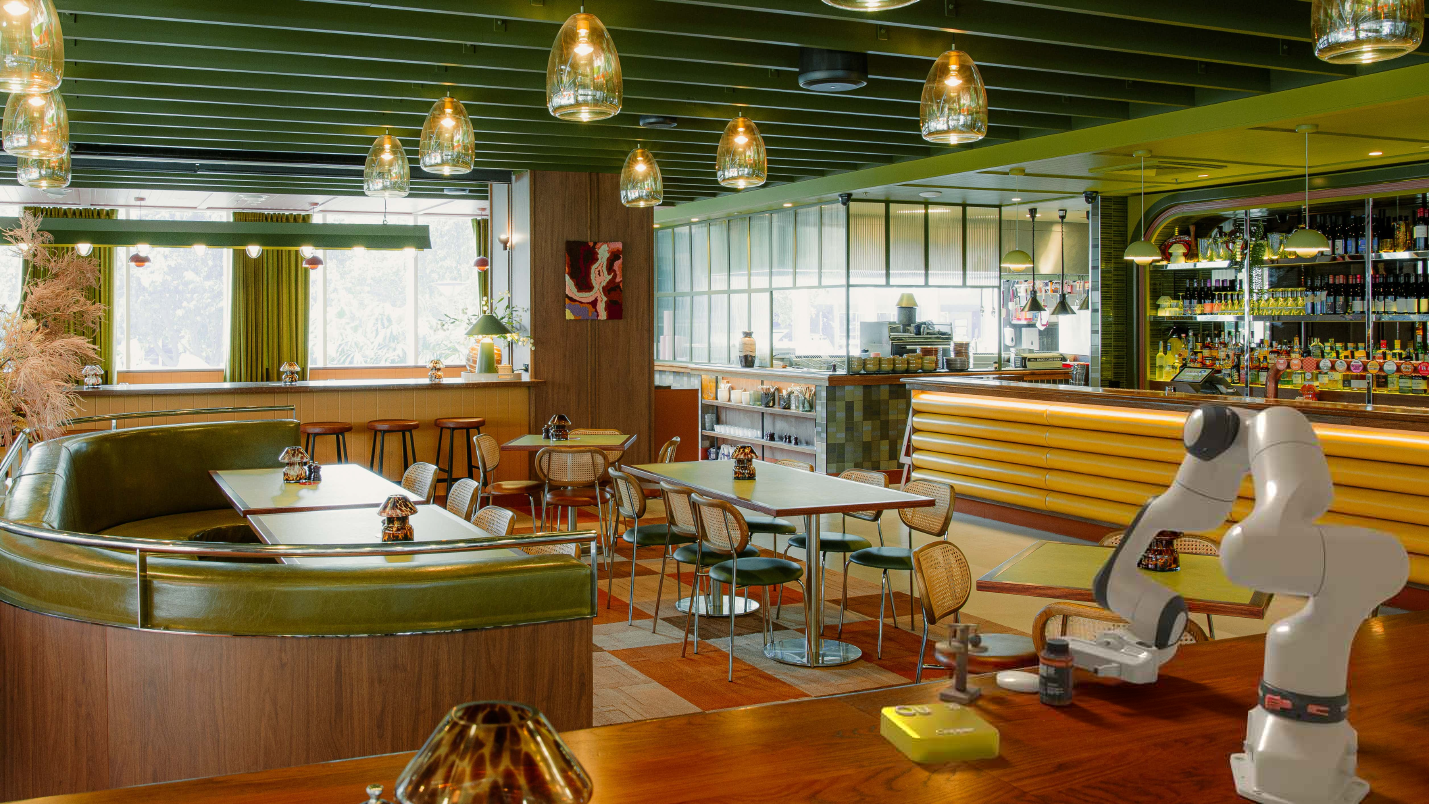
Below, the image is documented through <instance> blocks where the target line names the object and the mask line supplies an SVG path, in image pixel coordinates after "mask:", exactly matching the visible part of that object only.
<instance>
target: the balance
mask: <svg viewBox="0 0 1429 804" xmlns="http://www.w3.org/2000/svg"><path fill="white" fill-rule="evenodd" d="M947 629H949V635H948V641H938V642H935V647H934V648H935V649H936V650H937V651H940V652H941V653H942V652H943V653H947V654H956V662H955V663H956V664H955V681H954V682H953V683H951V684H950V685H948V686H947V687H946V688H944V689H943V690H941V692H939V698H938V699H939V700H941V701H946V702H949V703H958V704H960V705H962V706H967V705H969V703H971V702H972V701H973V700H975V699H976V698H977V697H978V696H980V695H981V693H982V687H981V686H977V685H973V684H972V685H971V684H969V683H967V681H968V680H967V679H968V661H969V658H968V657H969V653H972V654H985V653H988V652H989V646H988V645H986V644H984V643H982V640H983V639H982V637H981V635H980V634H979V633H978V632H977V630H979V629H980V625H979V624H975V623H947ZM953 630H957V636H956V637H957V638H956V639H957V640H956V642H955V641H952V637H953V636H952V633H953ZM970 630H973V631H974V633H971V634H970Z"/></svg>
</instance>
